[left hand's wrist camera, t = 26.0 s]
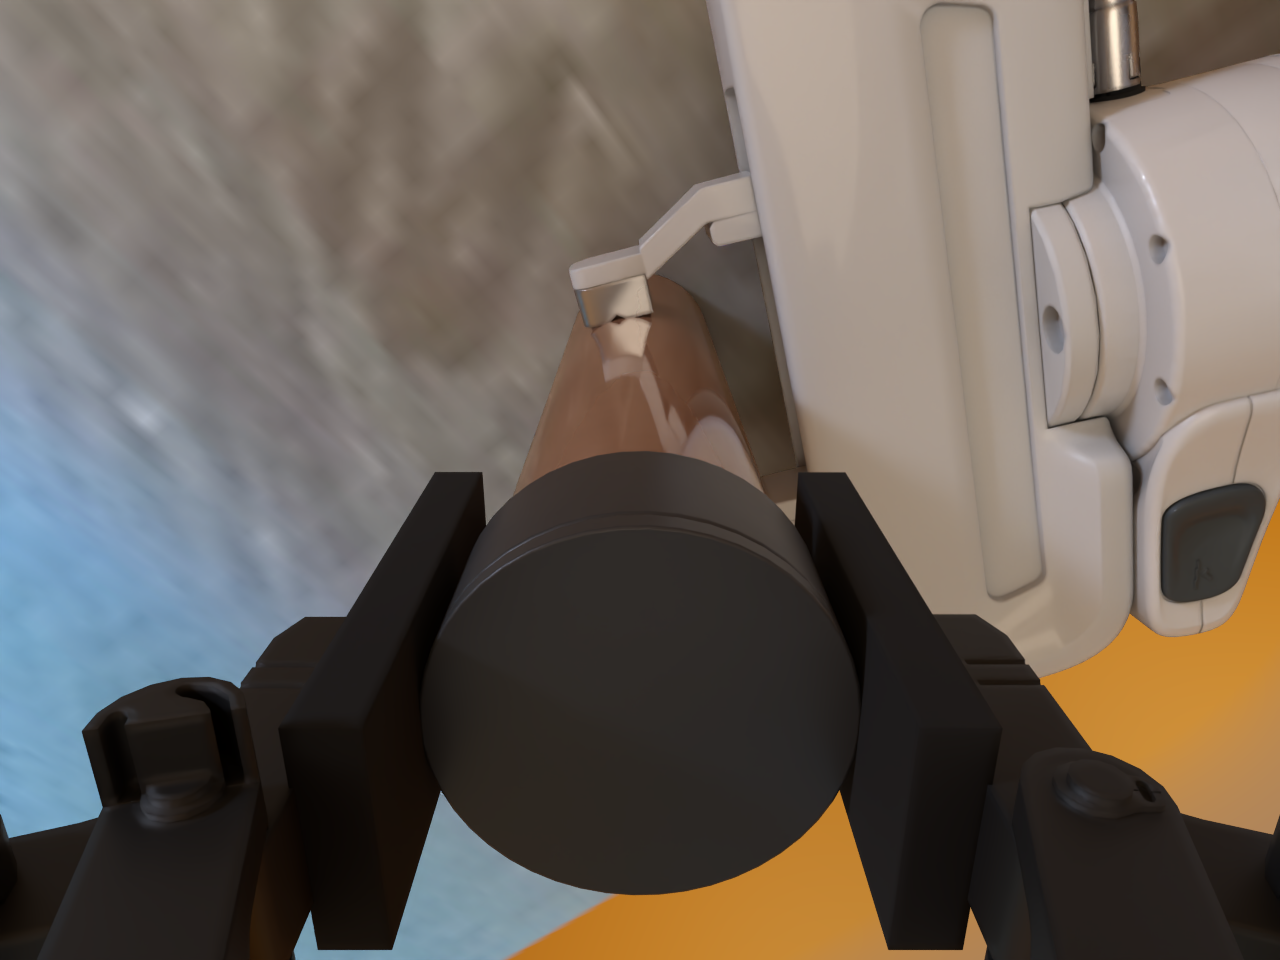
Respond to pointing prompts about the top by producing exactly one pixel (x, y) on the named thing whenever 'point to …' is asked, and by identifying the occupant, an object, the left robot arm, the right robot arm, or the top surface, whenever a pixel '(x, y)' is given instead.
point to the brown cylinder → (642, 393)
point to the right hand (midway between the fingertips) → (607, 406)
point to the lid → (640, 679)
